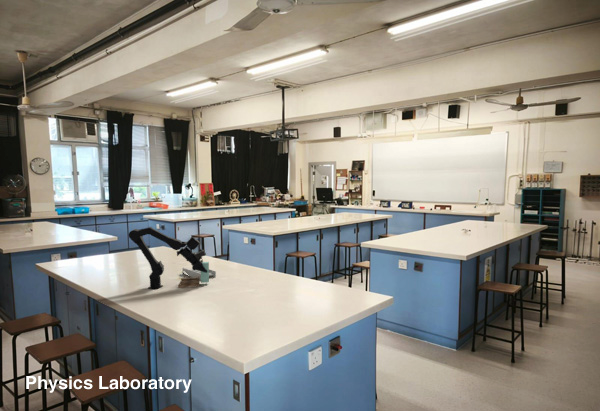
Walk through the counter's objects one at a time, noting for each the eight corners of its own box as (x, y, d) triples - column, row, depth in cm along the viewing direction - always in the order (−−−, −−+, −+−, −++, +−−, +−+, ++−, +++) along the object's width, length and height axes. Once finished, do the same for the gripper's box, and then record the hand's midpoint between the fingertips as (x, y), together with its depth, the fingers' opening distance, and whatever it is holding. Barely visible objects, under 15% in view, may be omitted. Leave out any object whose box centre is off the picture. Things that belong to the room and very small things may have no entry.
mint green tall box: (200, 282, 219) (200, 263, 219) (200, 281, 223) (200, 262, 222) (210, 282, 221) (210, 262, 220) (210, 280, 224) (210, 261, 224)
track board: (179, 287, 214) (178, 280, 214) (180, 283, 224) (180, 276, 223) (199, 286, 217) (199, 279, 217) (199, 281, 227) (199, 275, 226)
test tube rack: (201, 280, 230) (218, 276, 239) (201, 274, 229) (218, 270, 239) (182, 273, 246) (199, 270, 256) (182, 267, 246) (198, 264, 256)
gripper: (197, 248, 210) (216, 265, 214) (198, 243, 228) (215, 259, 232) (184, 262, 209) (203, 278, 212) (186, 255, 227) (203, 271, 230)
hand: (207, 271), depth 222 cm, fingers closed on mint green tall box, 3 cm apart
